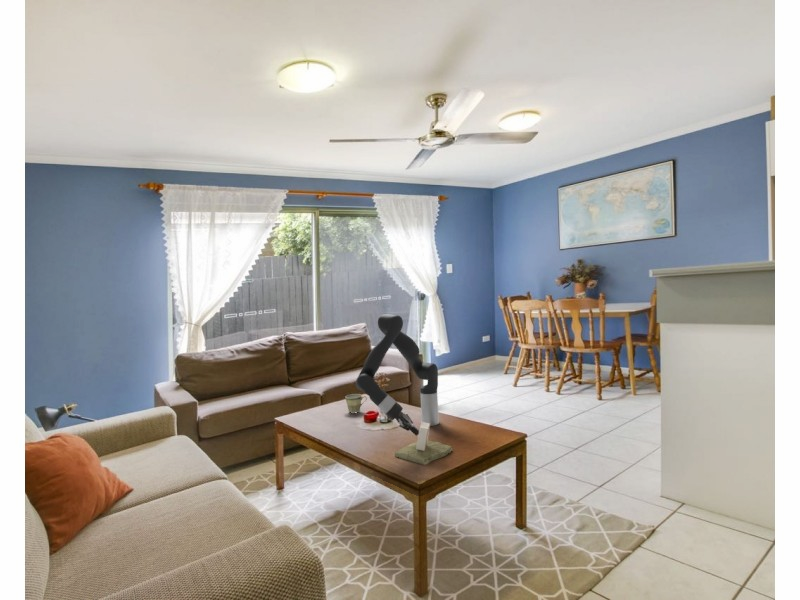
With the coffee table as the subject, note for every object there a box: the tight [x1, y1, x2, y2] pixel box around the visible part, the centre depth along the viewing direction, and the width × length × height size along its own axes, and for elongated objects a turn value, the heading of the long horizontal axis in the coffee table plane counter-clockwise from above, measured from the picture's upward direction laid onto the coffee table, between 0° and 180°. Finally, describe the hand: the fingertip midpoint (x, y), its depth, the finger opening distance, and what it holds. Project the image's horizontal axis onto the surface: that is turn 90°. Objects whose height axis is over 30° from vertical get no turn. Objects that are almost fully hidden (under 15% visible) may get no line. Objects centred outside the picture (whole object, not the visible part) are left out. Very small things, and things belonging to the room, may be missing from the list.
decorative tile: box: [394, 439, 453, 466], centre depth 198 cm, size 19×20×4 cm
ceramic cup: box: [345, 393, 368, 414], centre depth 270 cm, size 13×10×10 cm
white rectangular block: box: [416, 421, 431, 451], centre depth 198 cm, size 8×4×10 cm, turn 170°
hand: (418, 433), depth 199 cm, fingers closed
